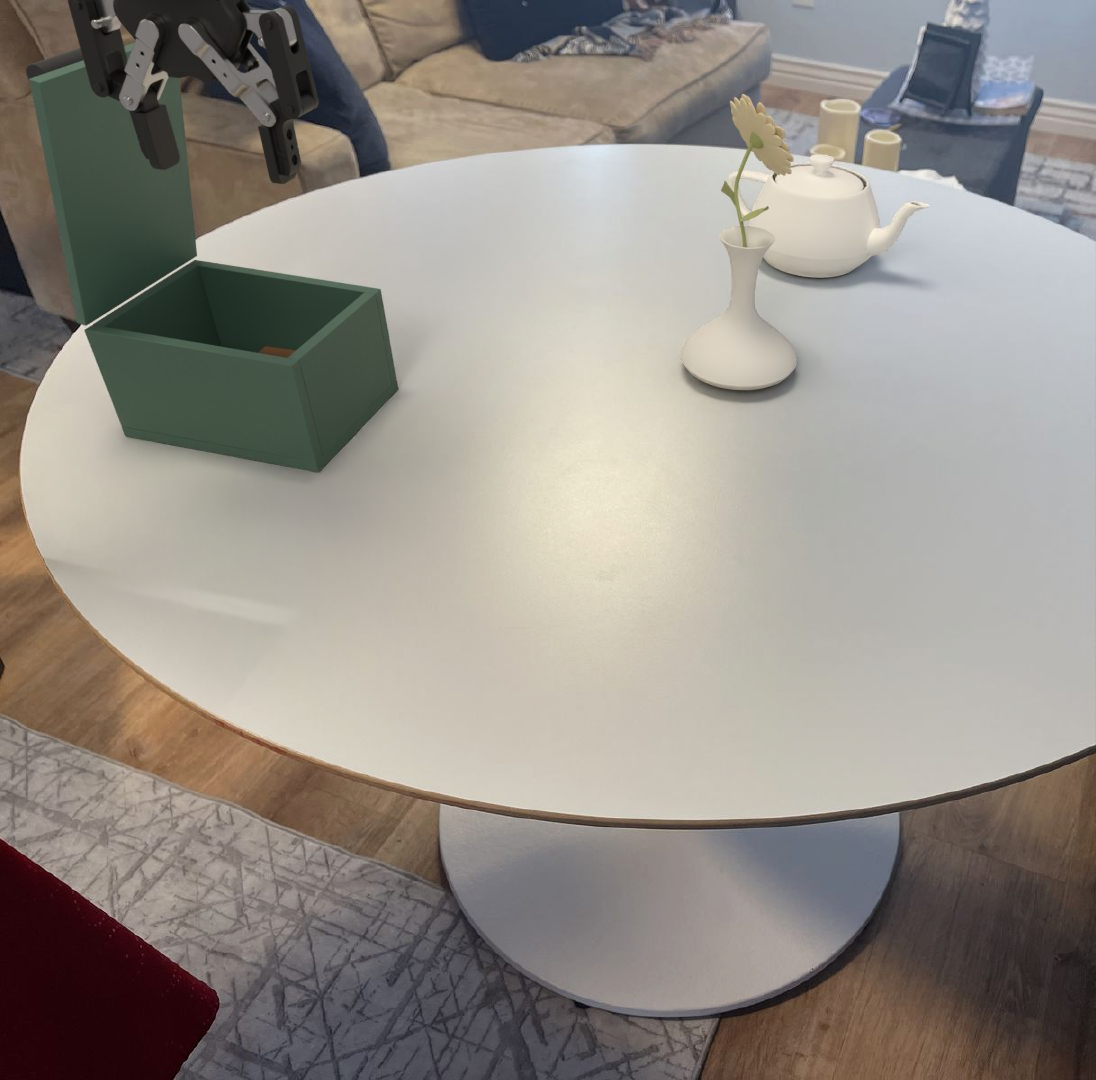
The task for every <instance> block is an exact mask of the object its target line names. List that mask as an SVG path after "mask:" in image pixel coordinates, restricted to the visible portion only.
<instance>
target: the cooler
mask: <svg viewBox="0 0 1096 1080" xmlns="http://www.w3.org/2000/svg"><path fill="white" fill-rule="evenodd" d="M83 331H84V334H85V336H86V339H87V342H88V344H89V346H90V349H91V351H92V354H93V357H94V359H95V361H96V365H97V367H98V369H99V372H100V375H101V377H102V379H103V382H104V385H105V387H106V390H107V393H108V395H109V398H110V400H111V403H112V405H113V408H114V410H115V413H116V416H117V418H118V421H119V423H120V426H121V429H122V431H123V434H124V436H125V437H128V438H134V439H139V440H145V441H149V442H155V443H159V444H160V443H161V444H165V445H170V446H176V447H181V448H186V449H193V450H197V451H203V452H209V453H213V454H217V455H223V456H230V457H235V458H240V459H245V460H251V461H256V462H262V463H266V464H272V465H277V466H283V467H287V468H294V469H298V470H299V469H300V470H304V471H309V472H314V473H320V472H321V471H322V470H323V469H324V467H325V466H327V465H328V463H329V462H330V461H331V460H332V459H333V458H334V457H335V456H336V455H337V454H338V453H339V452H340V450H342V448H344V446H345V445H346V444H348V443H349V441H350V440H351V439H352V438H354V436H355V435H356V434H357V432H359V431H360V429H361V428H362V427H363V426H365V425H366V423H368V422H369V420H370V419H371V418H372V417H373V416H374V415H375V414H376V413H377V412H378V411H379V410H380V409H381V408H382V407H383V406H384V404H385V403H386V402H388V400H389V399H390V398H391V397H392V396H393V395H394V394H395V393H396V392H397V391H398V390H399V384H398V379H397V378H398V377H397V373H396V367H395V362H394V356H393V351H392V346H391V339H390V334H389V329H388V323H387V317H386V311H385V306H384V299H383V295H382V289H381V288H377V287H370V286H365V285H364V286H363V285H358V284H351V283H346V282H345V283H344V282H339V281H338V282H337V281H332V280H326V279H320V278H313V277H308V276H300V275H294V274H290V273H289V274H288V273H281V272H276V271H270V270H269V271H268V270H262V269H257V268H256V269H255V268H251V267H243V266H238V265H230V264H225V263H220V262H219V263H218V262H212V261H205V260H199V259H194V260H191V262H188V264H187V263H186V264H185V265H183V266H181V268H178V269H177V270H175V272H174V271H173V272H172V273H170V275H167V277H165V278H162V279H161V280H159V282H156V283H155V284H154V285H151V287H148V289H146V290H145V291H144V290H143V291H142V292H140V294H138V295H136V296H134V297H132V299H130V300H129V301H126V302H125V303H123V304H121V306H119V307H117V308H116V309H113V311H110V312H109V313H108V314H107V315H105V316H103V317H102V318H100V319H99V320H97V321H95V322H94V323H93V324H91V325H90V326H88V327H86V328H85V329H84V330H83ZM265 346H267V347H274V348H282V349H289V350H296V351H295V352H294V353H293V354H291V355H290V356H289V357H288V358H285V357H279V356H273V355H267V354H261V353H258V352H260V351H261V350H262V349H263V348H264V347H265Z"/></svg>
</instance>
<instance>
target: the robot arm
mask: <svg viewBox="0 0 1096 1080" xmlns="http://www.w3.org/2000/svg"><path fill="white" fill-rule="evenodd" d="M67 5H68V8H69V11H70V15H71V19H72V23H73V26H74V29H75V33H76V37H77V41H78V44H79V48H80V49H81V52H82V56H83V60H84V63H85V67H86V71H87V74H88V78H89V82H90V86H91V88H92V90H93V92H94V93H95V94H96V95H97V96H99V97H102V98H104V97H107V96H109V97H111V98H113V99H115V100H117V101H120V102H121V104H122V105H123V106H124V107H125V108H126V109H128V110H129V112H130V115H131V118H132V122H133V125H134V128H135V131H136V135H137V138H138V141H139V145H140V148H141V151H142V153H143V154H144V156H145V157H146V159H149V161H150V164H151V166H152V167H153V168H154V169H161V170H166V169H168V168H170V167H172V166H174V165H176V164H178V163H179V161H180V154H179V151H178V147H177V144H176V140H175V136H174V133H173V129H172V126H171V122H170V119H169V115H168V111H167V108H166V105H164V104H159V103H158V100H159V99H160V97H161V94H162V92H163V89H164V87H165V84H166V82H167V80H168V78H169V77H173V78H180V79H181V78H182V79H183V78H187V77H191V78H194V79H197V80H200V81H202V82H208V83H215V82H218V81H219V82H220V83H221V85H222V86H223V88H225V90H226V91H227V92H228V93H229V94H230V95H231V96H232V97H234V98H237V99H240V100H241V101H242V103H244V104H245V106H246V107H247V108H248V109H249V111H250V112H251V113H252V114H253V116H254V117H255V118H256V119H257V120H258V121H259V123H260V125H258V126H257V129H258V132H259V134H258V135H259V138H260V142H261V146H262V151H263V155H264V160H265V164H266V167H267V173H268V178H269V180H270V182H271V183H273V184H278V185H285V184H287V183H288V182H290V181H292V180H293V179H295V178H296V176H297V172H298V171H300V170H301V165H302V158H301V155H300V149H299V144H298V139H297V135H296V129H295V124H294V121H295V120H297V119H298V118H300V117H302V116H304V115H305V114H307V113H309V112H311V111H313V110H315V109H317V108H318V106H319V103H320V101H319V97H318V92H317V89H316V83H315V80H314V75H313V72H312V67H311V63H310V59H309V55H308V50H307V45H306V42H305V37H304V34H303V30H302V25H301V22H300V21H301V20H300V18H299V14H298V12H297V10H296V9H294V7H292V6H290V5H283V6H280V7H278V8H275V9H253V8H251V7H250V6H251V5H249V3H248V2H247V0H67ZM121 26H123V27H124V28H125V30H126V31H127V32H128V33H129V35H130V36H131V37H132V38H133V39H134V40H135V41H134V42H133V43H134V45H133V48H132V51H131V53H130V56H129V59H128V60H127V56H126V52H125V48H124V46H125V43H124V39H123V36H122V32H121ZM253 35H255V36H256V37H257V44H258V45H259V47H262V48H263V49H265V51H266V55H267V59H268V63H269V65H268V63H267V62H266V61H265V60H264V59H263V57H262V56H261V54H259V52H258V51H257V50H256V49H255V47H253V45H252V44H251V40H252V37H253ZM106 62H107V63H106ZM240 65H241V66H242V67H243V69H244V70H245V71H246V72H242V71H240V70H238V69H239V68H240ZM107 66H108V67H107ZM108 70H109V71H108Z"/></svg>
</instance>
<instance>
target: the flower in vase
mask: <svg viewBox="0 0 1096 1080" xmlns="http://www.w3.org/2000/svg"><path fill="white" fill-rule="evenodd" d="M729 106H730V108H731V109H730V112H731V115H732V118H731V119H732V122H733V125H734V126H735V128H736V129H737V130H738V131H739V135H740V137H741V139H742V140H743V142H745V144H746V147H747V149H746V150H745V151H746V152H745V153H744V156H743V158H742V161H741V164H740V166H739V168H738V170H739V171H738V174H737V177H736V180H735V185H734V192H733V190H732V189H731V188H730V186H729V185H728V183H727V182H728V181H726V180H724V182H723V185H722V187H721V188H720V192H722V193H723V194H724V195H726V196H727V197H728V198H729V199H730V200H731V202H732V204H733V203H734V204H733V206H734V205H735V206H736V207H735V206H734V207H735V209H736V213H737V218H738V222H739V225H738V226H737V225H735V226H730V227H727V228H725V229H723V230H721V231H720V232H719V235H718V239H719V240H720V242H721V243H722V245H723V246H724V248H725V250H726V252H727V255H728V258H729V264H730V273H731V276H730V277H731V291H730V299H729V304H728V307H727V308H726V310H725V311H724V312H723V313H722V314H720V315H718V316H717V317H715V318H713V319H711V320H709V321H708V322H705V323H704V324H703V325H701V326H699V327H698V328H697V329H695V330H694V331H693V332H692V333H691V334H689V336H688V337H686V339H685V340H684V342H683V345H682V347H681V349H680V353H679V356H680V361H681V363H682V364H683V366H684V367H685V369H686V370H687V371H688V372H689V373H690V375H691V376H693V377H694V378H696V379H697V380H699V381H701V382H702V383H705V384H707V385H709V386H712V387H715V388H721V389H725V390H734V391H752V390H753V391H754V390H762V389H766V388H769V387H773V386H776V385H778V384H779V383H782V382H783V381H785V380H786V379H787V378H788V377H789V376H790V375H791V374H792V373H793V372H794V370H795V369H796V366H797V363H798V359H797V354H796V351H795V348H794V346H793V344H792V343H791V342H790V341H789V340H788V339H787V337H786V336H785V335H784V334H783V332H781V331H780V330H779V329H778V328H776V327H774V326H773V325H772V324H771V323H769V322H768V321H766V320H765V319H764V318H763V317H762V316H761V315H760V314H759V312H758V310H757V309H756V287H757V285H756V284H757V280H758V274H759V269H760V266H761V262H762V261H763V259H764V258H763V256H764V254H765V253H766V251H767V250H768V248H769V247H770V246H771V245H772V244H773V243H774V241H775V237H774V236H773V234H771V233H770V232H768V231H766V230H764V229H761V228H757V227H751V226H748V225H744V222H747V220H750V219H752V218H754V217H756V216H758V215H759V214H761V213H762V212H764V211H766V210H768V209H769V207H768V206H767V207H766V208H761V209H758V210H755V211H753V212H750V213H748V214H747V215H745V216H744V217H743V216H742V215H741V211H740V206H739V201H738V184H740V180H741V179H740V177H741V174H742V171H743V170H745V169H744V168H745V166H746V163H747V162H748V158H749V156H750V154H751V152H753V154H754V156H755V157H756V159H757V160H758V161H759V162H762V164H763V166H765V168H767V169H768V170H769V171H772V172H774V173H775V174H777V175H780V174H781V175H783V176H785V175H786V173H787V174H791V173H792V171H791V169H790V167H789V166H791V164H792V162H793V163H794V161H795V159H794V156H793V155H792V153H790V150H791V149H790V146H789V143H787V142H785V140H783V139H785V137H786V132H785V130H784V128H783V127H781V126H779V125H776V124H775V120H774V119H773V117H772V116H770V115H767V109H766V107H765V105H764V104H763V102H761V101H759V102H757V104H756V108H755V105H754V104H753V101H752V99H751V97H749V95H746V94H745V93H742V94H741V97H740V98H739V99H738V98H737V97H736V96H734V97H733V101H732V100H729Z"/></svg>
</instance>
